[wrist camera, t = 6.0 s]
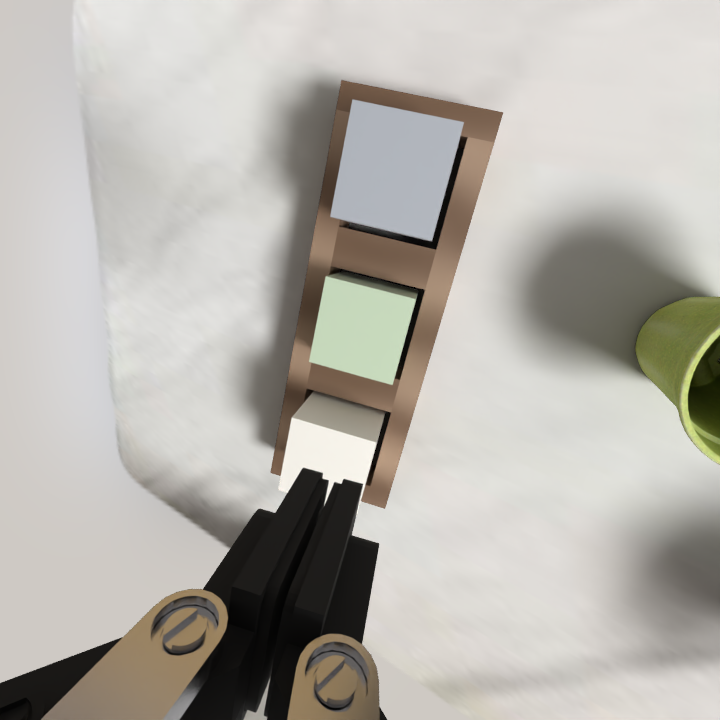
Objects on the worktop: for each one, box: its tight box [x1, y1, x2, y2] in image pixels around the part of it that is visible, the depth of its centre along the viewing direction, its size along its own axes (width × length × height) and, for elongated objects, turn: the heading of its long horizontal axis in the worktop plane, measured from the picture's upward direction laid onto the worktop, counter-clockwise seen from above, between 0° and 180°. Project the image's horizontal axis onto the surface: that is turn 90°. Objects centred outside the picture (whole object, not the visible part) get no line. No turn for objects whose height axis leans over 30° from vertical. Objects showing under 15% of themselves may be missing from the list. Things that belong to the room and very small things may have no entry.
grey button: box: [330, 99, 464, 242], centre depth 22 cm, size 6×6×5 cm
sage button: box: [309, 271, 419, 385], centre depth 26 cm, size 6×6×5 cm
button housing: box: [271, 80, 503, 508], centre depth 28 cm, size 27×9×3 cm, turn 167°
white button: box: [278, 391, 386, 515], centre depth 27 cm, size 6×6×5 cm
